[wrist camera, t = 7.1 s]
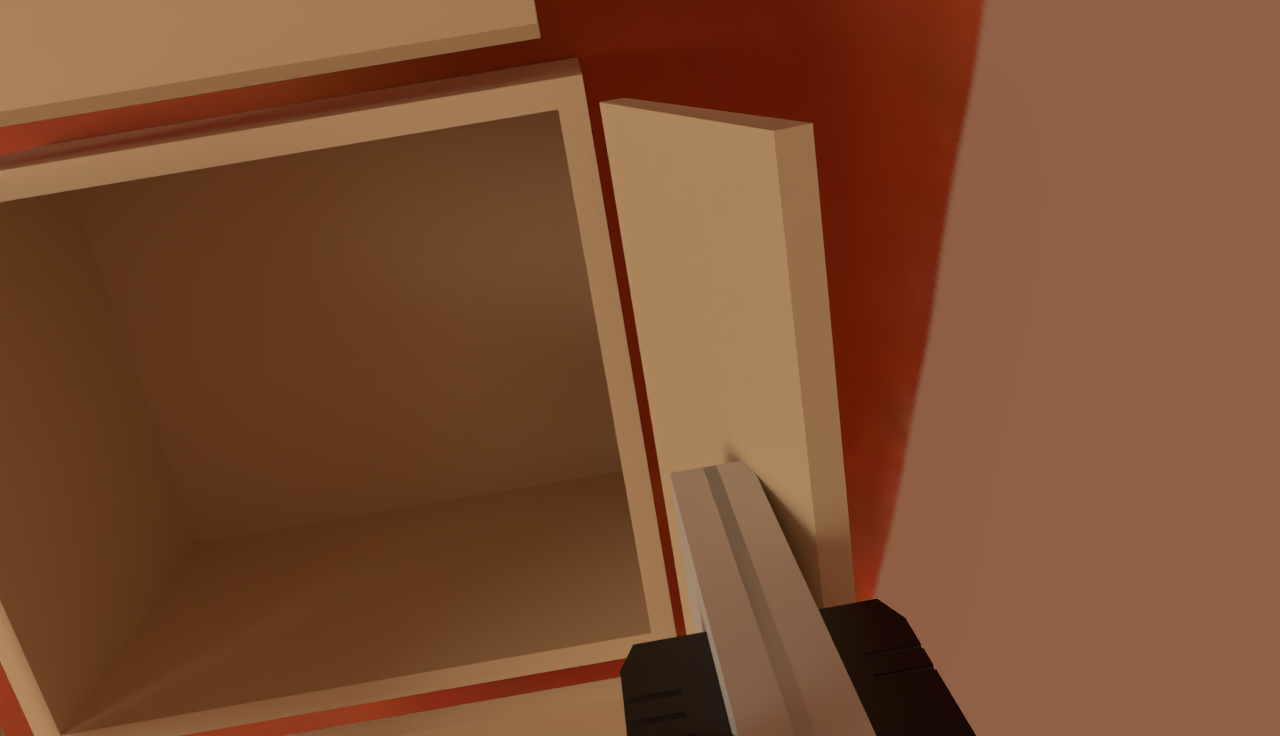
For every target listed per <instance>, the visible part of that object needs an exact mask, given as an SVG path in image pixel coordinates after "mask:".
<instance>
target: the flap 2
mask: <svg viewBox="0 0 1280 736" xmlns="http://www.w3.org/2000/svg"><path fill="white" fill-rule="evenodd" d="M285 736H627V732H626V722H625V713H624V702H623V694H622V684H621V677H618V678H612V679H607V680H601V681H595V682H590V683H584V684H578V685H572V686H567V687H561V688H555V689H549V690H544V691H538V692H532V693H526V694H521V695H515V696H509V697H503V698H498V699H492V700H486V701H480V702H475V703H469V704H463V705H457V706H452V707H446V708H440V709H434V710H429V711H423V712H417V713H412V714H406V715H400V716H394V717H389V718H383V719H377V720H371V721H366V722H360V723H354V724H348V725H343V726H337V727H331V728H325V729H320V730H314V731H308V732H302V733H297V734H291V735H285Z"/></svg>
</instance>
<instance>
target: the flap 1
mask: <svg viewBox="0 0 1280 736" xmlns="http://www.w3.org/2000/svg"><path fill="white" fill-rule="evenodd" d="M537 38H541V36H540V29H539V23H538V17H537V11H536V5H535V0H0V127H4V126H10V125H16V124H22V123H28V122H34V121H40V120H46V119H52V118H58V117H64V116H70V115H76V114H82V113H88V112H94V111H101V110H107V109H113V108H119V107H125V106H131V105H137V104H143V103H149V102H155V101H161V100H167V99H173V98H179V97H185V96H191V95H197V94H204V93H210V92H216V91H222V90H228V89H234V88H240V87H246V86H252V85H258V84H264V83H270V82H276V81H282V80H288V79H294V78H301V77H307V76H313V75H319V74H325V73H331V72H337V71H343V70H349V69H355V68H361V67H367V66H373V65H379V64H385V63H391V62H398V61H404V60H410V59H416V58H422V57H428V56H434V55H440V54H446V53H452V52H458V51H464V50H470V49H476V48H482V47H488V46H495V45H501V44H507V43H513V42H519V41H525V40H531V39H537Z"/></svg>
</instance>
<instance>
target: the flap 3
mask: <svg viewBox="0 0 1280 736" xmlns="http://www.w3.org/2000/svg"><path fill="white" fill-rule="evenodd" d="M599 103H600V110H601V116H602V122H603V128H604V134H605V140H606V146H607V152H608V158H609V164H610V171H611V177H612V183H613V189H614V195H615V201H616V207H617V213H618V219H619V226H620V232H621V238H622V244H623V250H624V256H625V262H626V268H627V274H628V281H629V287H630V293H631V299H632V305H633V311H634V317H635V323H636V329H637V336H638V342H639V348H640V354H641V360H642V366H643V372H644V378H645V384H646V390H647V397H648V403H649V409H650V415H651V421H652V427H653V433H654V439H655V445H656V452H657V458H658V464H659V470H660V476H661V482H662V488H663V494H664V500H665V507H666V513H667V519H668V525H669V531H670V537H671V543H672V549H673V555H674V562H675V568H676V574H677V580H678V586H679V592H680V598H681V604H682V610H683V616H684V623H685V629H686V635H690V634H695V633H696V632H695V628H694V623H693V619H692V614H691V607H690V601H689V594H688V588H687V581H686V575H685V568H684V562H683V555H682V549H681V542H680V536H679V529H678V523H677V516H676V510H675V503H674V497H673V490H672V483H671V477H670V473H672V472H678V471H684V470H690V469H696V468H701V467H707V466H713V465H720V464H726V463H731V462H737V461H743V462H744V463H745V464H746V465H747V466H748V467H749V468H750V469H751V470H752V471H753V472H755V473H756V475H757V477H758V480H759V482H760V484H761V486H762V488H763V491H764V493H765V495H766V497H767V499H768V501H769V504H770V506H771V508H772V510H773V512H774V514H775V517H776V519H777V521H778V523H779V525H780V527H781V530H782V532H783V534H784V536H785V538H786V541H787V543H788V545H789V547H790V549H791V551H792V554H793V556H794V558H795V560H796V562H797V564H798V567H799V569H800V571H801V573H802V575H803V577H804V580H805V582H806V584H807V586H808V588H809V591H810V593H811V595H812V597H813V599H814V601H815V604H816V606H817V608H818V609H822V608H828V607H834V606H839V605H845V604H850V603H856V592H855V581H854V570H853V559H852V548H851V537H850V526H849V515H848V504H847V493H846V482H845V471H844V461H843V450H842V439H841V428H840V417H839V406H838V395H837V384H836V373H835V362H834V351H833V340H832V329H831V318H830V307H829V296H828V285H827V274H826V263H825V252H824V241H823V230H822V219H821V208H820V197H819V186H818V175H817V164H816V153H815V142H814V131H813V123H808V122H801V121H794V120H786V119H779V118H771V117H764V116H756V115H749V114H742V113H734V112H727V111H719V110H712V109H704V108H697V107H690V106H682V105H675V104H667V103H660V102H653V101H645V100H638V99H630V98H619V99H614V100H609V101H603V102H599Z"/></svg>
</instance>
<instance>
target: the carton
mask: <svg viewBox="0 0 1280 736" xmlns="http://www.w3.org/2000/svg"><path fill="white" fill-rule="evenodd" d="M673 637H677V636H676V630H675V624H674V618H673V612H672V606H671V600H670V595H669V589H668V583H667V577H666V571H665V565H664V559H663V553H662V547H661V541H660V535H659V529H658V523H657V517H656V511H655V505H654V499H653V493H652V487H651V481H650V475H649V470H648V464H647V458H646V452H645V446H644V440H643V434H642V428H641V422H640V416H639V410H638V404H637V398H636V392H635V386H634V380H633V374H632V368H631V362H630V356H629V350H628V345H627V339H626V333H625V327H624V321H623V315H622V309H621V303H620V297H619V291H618V285H617V279H616V273H615V267H614V261H613V255H612V249H611V243H610V237H609V231H608V226H607V220H606V214H605V208H604V202H603V196H602V190H601V184H600V178H599V172H598V166H597V160H596V154H595V148H594V142H593V136H592V130H591V124H590V118H589V112H588V106H587V101H586V95H585V89H584V83H583V77H582V72H581V68H580V65H579V61H578V57H575V58H569V59H563V60H557V61H551V62H544V63H538V64H532V65H526V66H520V67H514V68H508V69H502V70H496V71H490V72H484V73H478V74H472V75H466V76H460V77H454V78H448V79H442V80H436V81H430V82H423V83H417V84H411V85H405V86H399V87H393V88H387V89H381V90H375V91H369V92H363V93H357V94H351V95H345V96H339V97H333V98H327V99H321V100H315V101H309V102H303V103H296V104H290V105H284V106H278V107H272V108H266V109H260V110H254V111H248V112H242V113H236V114H230V115H224V116H218V117H212V118H206V119H200V120H194V121H188V122H182V123H175V124H169V125H163V126H157V127H151V128H145V129H139V130H133V131H127V132H121V133H115V134H109V135H103V136H97V137H91V138H85V139H79V140H73V141H67V142H61V143H54V144H48V145H43V146H39V147H35V148H30V149H26V150H22V151H18V152H14V153H9V154H5V155H1V156H0V661H1V664H2V666H3V668H4V670H5V672H6V675H7V677H8V679H9V681H10V683H11V685H12V688H13V690H14V692H15V694H16V696H17V699H18V701H19V703H20V705H21V707H22V710H23V712H24V714H25V716H26V718H27V721H28V723H29V725H30V727H31V729H32V731H33V734H34V736H181V735H186V734H192V733H198V732H204V731H209V730H215V729H221V728H227V727H232V726H238V725H244V724H250V723H255V722H261V721H267V720H273V719H278V718H284V717H290V716H296V715H301V714H307V713H313V712H319V711H324V710H330V709H336V708H342V707H347V706H353V705H359V704H365V703H370V702H376V701H382V700H388V699H393V698H399V697H405V696H411V695H416V694H422V693H428V692H434V691H439V690H445V689H451V688H457V687H462V686H468V685H474V684H480V683H485V682H491V681H497V680H503V679H508V678H514V677H520V676H526V675H531V674H537V673H543V672H549V671H554V670H560V669H566V668H572V667H577V666H583V665H589V664H595V663H600V662H606V661H612V660H618V659H623V658H627V656H628V654H629V652H630V650H631V648H632V646H633V644H639V643H645V642H650V641H656V640H661V639H667V638H673Z"/></svg>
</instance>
